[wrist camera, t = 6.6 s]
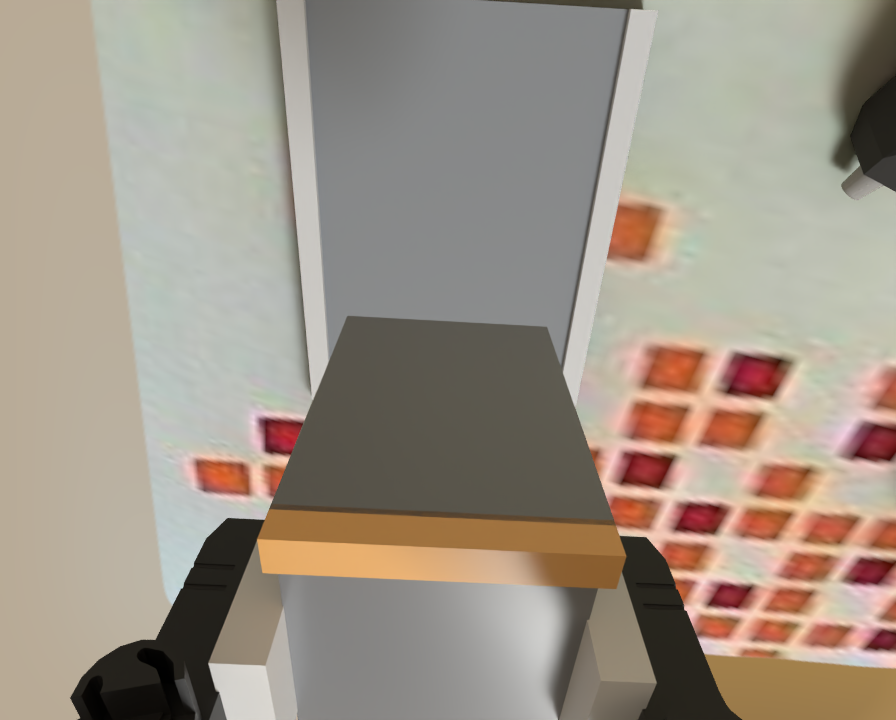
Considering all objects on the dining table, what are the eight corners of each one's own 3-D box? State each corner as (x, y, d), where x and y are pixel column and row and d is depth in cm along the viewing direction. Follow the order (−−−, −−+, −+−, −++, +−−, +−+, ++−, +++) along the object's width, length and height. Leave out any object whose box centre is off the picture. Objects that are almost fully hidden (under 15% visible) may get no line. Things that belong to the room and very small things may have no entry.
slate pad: (288, -10, 21) (274, -13, 20) (644, 12, 22) (658, 10, 20) (321, 407, 32) (314, 426, 30) (563, 419, 32) (568, 439, 30)
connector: (347, 315, 12) (256, 538, 7) (546, 326, 12) (626, 556, 7) (357, 598, 17) (308, 872, 11) (502, 605, 17) (527, 879, 11)
